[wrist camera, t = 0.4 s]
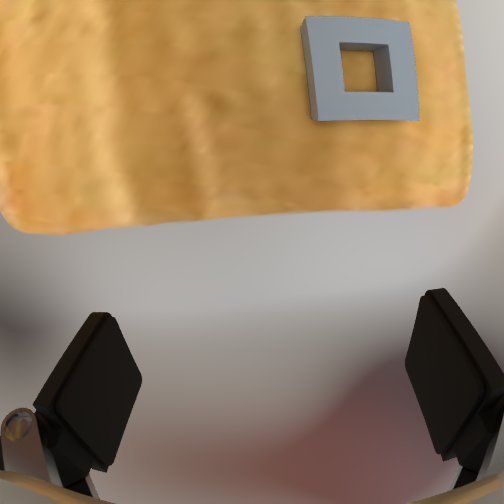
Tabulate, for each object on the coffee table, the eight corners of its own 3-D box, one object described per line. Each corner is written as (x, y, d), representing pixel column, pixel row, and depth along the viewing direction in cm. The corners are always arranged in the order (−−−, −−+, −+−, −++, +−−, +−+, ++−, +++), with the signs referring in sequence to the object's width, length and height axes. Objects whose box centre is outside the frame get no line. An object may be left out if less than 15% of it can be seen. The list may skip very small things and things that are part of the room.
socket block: (300, 27, 28) (305, 16, 23) (392, 30, 27) (409, 22, 22) (311, 118, 33) (318, 121, 28) (401, 117, 32) (419, 120, 27)
